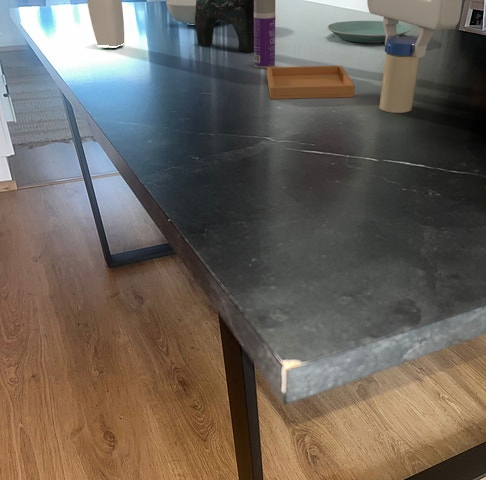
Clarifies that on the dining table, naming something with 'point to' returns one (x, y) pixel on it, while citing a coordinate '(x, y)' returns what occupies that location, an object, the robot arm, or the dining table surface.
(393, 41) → the lid
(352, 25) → the plate
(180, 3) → the serving bowl
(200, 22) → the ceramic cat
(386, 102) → the jar
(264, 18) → the container
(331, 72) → the tray
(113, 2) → the cup
